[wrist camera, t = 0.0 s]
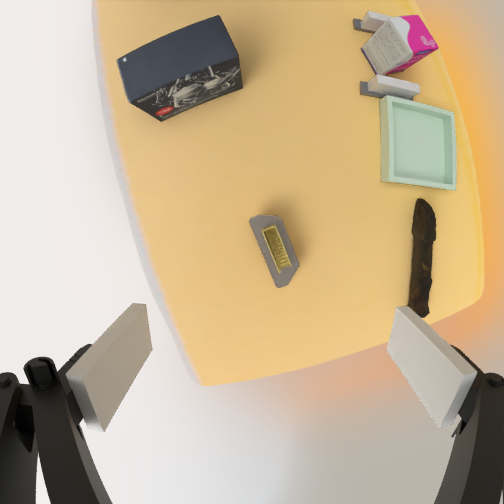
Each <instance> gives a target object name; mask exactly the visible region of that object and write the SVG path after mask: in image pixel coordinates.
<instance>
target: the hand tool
mask: <svg viewBox="0 0 504 504" xmlns="http://www.w3.org/2000/svg"><path fill="white" fill-rule="evenodd" d="M412 235H413V236H414V247H413V258H412V276H411V284H410V298H409V306H408V307H409V308H411V309H412V310H413V311H414V312H415V313H416V314H417V315H418V316H419V317H421V318H424V317H426V316H427V315H428V314H429V313H430V312H429V307H428V301H429V291H430V288H431V284H432V279H431V267H432V246H433V241H435V240H436V218H435V213H434V211H433V209H432V207H431V206H430V205H429V204H428V203H427V202H426V201H425V200H424V199H418V200H417V202H416V205H415V210H414V216H413V225H412Z"/></svg>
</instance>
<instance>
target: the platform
mask: <svg viewBox="0 0 504 504" xmlns="http://www.w3.org/2000/svg"><path fill="white" fill-rule="evenodd" d="M249 223H250V225H251V227H252V230H253V232H254V235H255V237H256V239H257V242H258V244H259V247H260V249H261V251H262V254H263V256H264V259H265V261H266V263H267V266H268V268H269V271H270V273H271V275H272V278H273V280H274V283H275V285H276V287H278V288H281V287H283V286H286V285H288V284H289V282H290V281H291V279H292V277H293V276H294V274H295V272H296V271H297V269H298V267H299V262H298V259H297V257H296V254H295V252H294V249H293V246H292V244H291V241H290V239H289V236H288V234H287V231H286V229H285V226H284V224H283V221H282V219H281V218H280V217H279V216H274V215H256V216H254V217H251V218H250V220H249ZM266 235H267V236H266Z"/></svg>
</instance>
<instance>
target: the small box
mask: <svg viewBox="0 0 504 504" xmlns="http://www.w3.org/2000/svg"><path fill="white" fill-rule="evenodd" d="M117 65H118V68H119V71H120V75H121V78H122V82H123V86H124V90H125V93H126V96H127V99H128V101H129V103H131V104H133V105H134V106H136V107H138V108H140V109H141V110H143V111H145V112H146V113H148V114H150V115H151V116H153V117H154V118H156V119H158V120H159V121H164V120H166V119H168V118H170V117H172V116H174V115H177V114H179V113H181V112H183V111H186V110H188V109H190V108H193V107H195V106H197V105H200V104H202V103H205V102H207V101H210V100H212V99H215V98H217V97H220V96H223V95H225V94H228V93H231V92H234V91H237V90H239V89H242V88H243V86H242V78H241V71H240V63H239V55H238V52H237V50H236V48H235V46H234V44H233V42H232V40H231V38H230V36H229V33H228V31H227V29H226V27H225V25H224V23H223V21H222V19H221V17H220V16H219V15H217V16H214V17H211V18H208V19H206V20H203V21H200V22H197V23H194V24H192V25H189V26H187V27H184V28H182V29H179V30H177V31H174V32H172V33H169V34H167V35H165V36H163V37H160V38H158V39H156V40H154V41H152V42H150V43H148V44H146V45H144V46H141V47H139V48H138V49H136V50H134V51H132V52H130V53H128V54H126V55H124V56H122V57H121V58H119V59H117Z"/></svg>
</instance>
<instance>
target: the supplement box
mask: <svg viewBox="0 0 504 504" xmlns="http://www.w3.org/2000/svg"><path fill="white" fill-rule="evenodd" d="M437 49H438V46H437V44H436V42H435V41H434V39H433V37H432V36H431V34H430V33H429V31H428V29H427V28H426V26H425V25H424V23H423V22H422V20H421V19H420V17H419V16H418V15H409V16H399V17H391V18H388V19H387V20H386V21H385V23H384V24H383V25H382V26H381V27H380V28H379V29H378V30H377V31H376V32H375V34H374V35H373V36H372V37H371V38H370V39H369V40H368V41H367V43H366V44H365V45H364V46H363V47H362V48H361V50H362V52H363V54H364V55H365V57H366V58H367V60H368V62H369V63H370V65H371V67H372V69H373V71H374V72H375V74H376V75H377V74H379V75H383V76H384V75H388V74H391V73H395V72H400V71H404V70H405V69H407V68H408V67H410V66H411V65H413V64H414V63H416V62H418V61H419V60H421V59H422V58H424V57H425V56H427V55H428V54H430V53H432V52H433V51H435V50H437Z"/></svg>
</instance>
